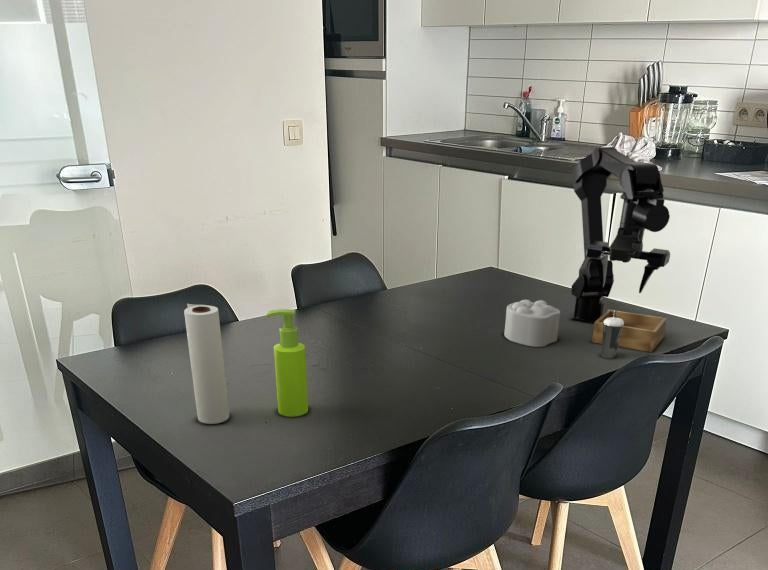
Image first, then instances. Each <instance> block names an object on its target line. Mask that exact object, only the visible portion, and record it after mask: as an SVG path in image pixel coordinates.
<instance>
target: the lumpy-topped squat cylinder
mask: <svg viewBox="0 0 768 570" xmlns="http://www.w3.org/2000/svg"><path fill="white" fill-rule="evenodd" d="M505 311H506V313H505V324H504V332H503V333H504V337H505V338H506V339H507V340H508V341H510V342H513V343H517V344H519V345H523V346H528V347H534V348H543V347H546V346H547V345H550V344H552V343H555V342H557V341H558V335H559V326H560V319H561V310H560V309H558V308H556V307H554V306H553V305H550V304H548V303H547V301H545V300H542V299H539V300H536V301H531V300H530V299H521V300H520V301H515V302H513V303H510V304H508V305H507V306H506V310H505Z"/></svg>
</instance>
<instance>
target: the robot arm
mask: <svg viewBox="0 0 768 570" xmlns="http://www.w3.org/2000/svg"><path fill="white" fill-rule="evenodd" d="M612 175H613V176H615V177H617V178H618V179H619V186H620V187H621V188H622V189H623V190H624V192H623V193H622V194H620V199H622V200H623V204H622V209H621V215H620V221H619V225H618V226H619V227H618V228H617V232H616V236H615V238H614V239H613V240H612V242H611V244H610V243H609V242H608V241H604V229H603V211H602V208H603V207H602V196H603V194H604V192H605V190H606V188H607V185H608V179H609V178H610V177H611V176H612ZM571 181H572V185H573V192H574V193H575V195H576V196H577V198H578V199H579V201H580V206H581V218H582V219H581V220H582V221H581V222H582V237H583V239H582V240H583V254H584V259H583V261H582V263H581V265H580V267H579V269H578V277H577V278H576V279H575V281H574V282H573V283H572V285H571V295H572V296H574V297H575V303H574V310H573V315H572V317H571V320H572V321H578V322H585V323H591V324H594V323H595V322H596V321H597V320H598V319H599V318H600V317H601V316H602V315H603V314H604V313H603V312H604V305H605V302H604V301H603V298H608V297H609V296H610V293H611V291H612V288H613V285H614V283H615V278H614V276H615V275H614V269H613V268H614V267H613V266H614V263H613V262H616V261H618V262H622V263H624V264H625V263H629V262H631V260H632V259H634V260H641V261H642V260H643V261H646V262H647V264H646V265H645V266H644V267H643V269H644V271H643V274H642V278H641V281H640V285H639V290H638V293H639V294H641V293H642V292H643V290H644V289H645V287H646V286H647V283H648V281H649V280H650V278H651V276H652V275H653V273H654V272H655V270H656V271H657V270H659V269H660V268H664V267H665V266H667V265H668V264H669V263H670V258H671V252H670V250H669V249H663V248H653V249H652V250H650V251H645V250H643V248H644V242H643V240H644V234H645V231H649V232H652V233H657V232H661V231H662V230H664V229H665V228H666V227H667V225H668V223H669V221H670V217H671V216H670V215H671V214H670V210H669V209H668V207H667V206H666V205H665V199H664V191H665V190H664V187H663V186H664V185H663V183H662V178H661V173H660V169H659V166H658V165H657V164H656V163H652V162H642V161H636V160H634V159H632V158H630V157H629V156H628V155H625V154H624V153H622V152H621V151H619V150H618V149H617V148H616V147H614V146H598V147H596V148H595V149H594V150H593V151H592V152H591V153H590V154H588V155H587V156H585V157H583V158H581V159H580V160H579V161H578V162H577V164H576V165H575V166H574V167H573V170H572V171H571Z"/></svg>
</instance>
